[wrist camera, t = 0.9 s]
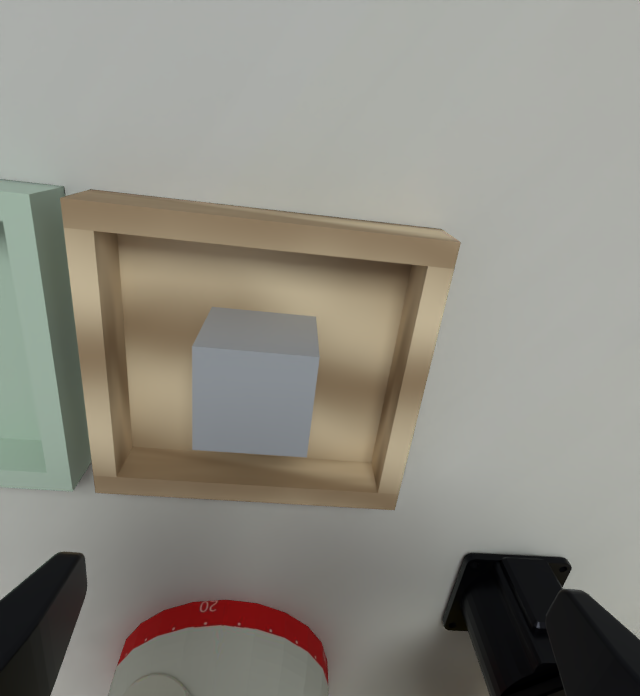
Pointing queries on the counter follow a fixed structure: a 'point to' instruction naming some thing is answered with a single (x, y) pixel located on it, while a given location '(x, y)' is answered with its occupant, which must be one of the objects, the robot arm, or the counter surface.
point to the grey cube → (254, 382)
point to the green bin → (38, 346)
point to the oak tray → (257, 295)
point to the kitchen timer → (221, 654)
